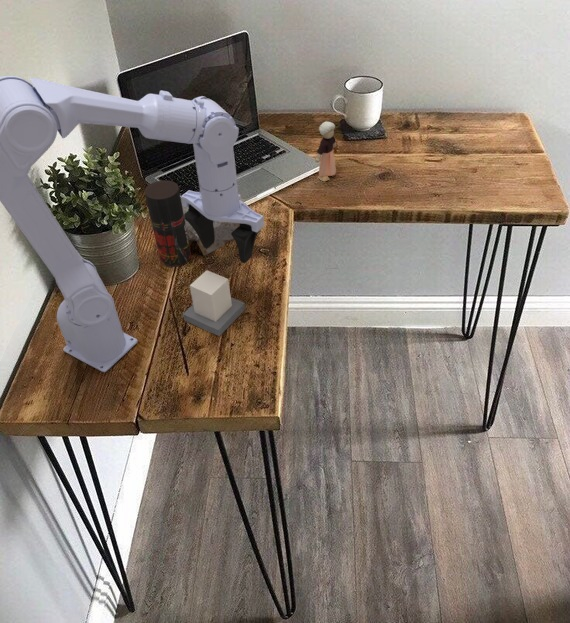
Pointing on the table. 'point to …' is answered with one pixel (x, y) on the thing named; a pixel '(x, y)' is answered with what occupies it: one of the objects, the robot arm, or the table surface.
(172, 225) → the deodorant
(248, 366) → the table surface
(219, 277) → the cream block
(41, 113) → the robot arm
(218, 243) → the geological specimen
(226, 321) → the slate base
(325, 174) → the grandmother figurine
